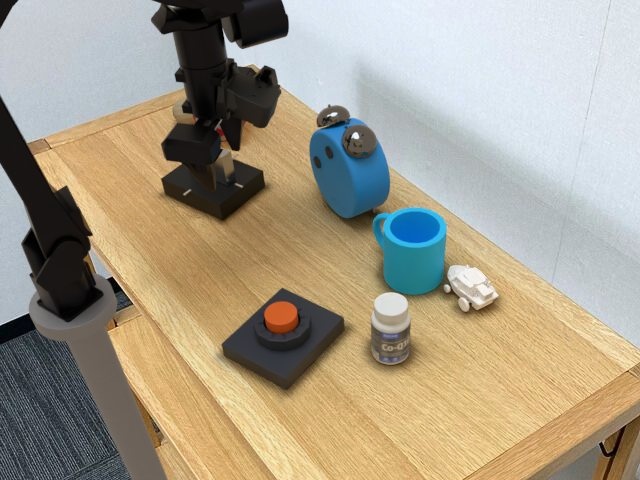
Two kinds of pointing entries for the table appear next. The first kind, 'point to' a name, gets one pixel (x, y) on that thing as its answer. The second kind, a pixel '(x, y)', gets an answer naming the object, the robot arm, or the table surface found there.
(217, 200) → the base
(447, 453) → the table surface
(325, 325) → the button box
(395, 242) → the mug
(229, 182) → the tap handle
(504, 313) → the table surface
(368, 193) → the alarm clock
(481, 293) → the toy car
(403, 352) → the pill bottle
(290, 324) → the button
